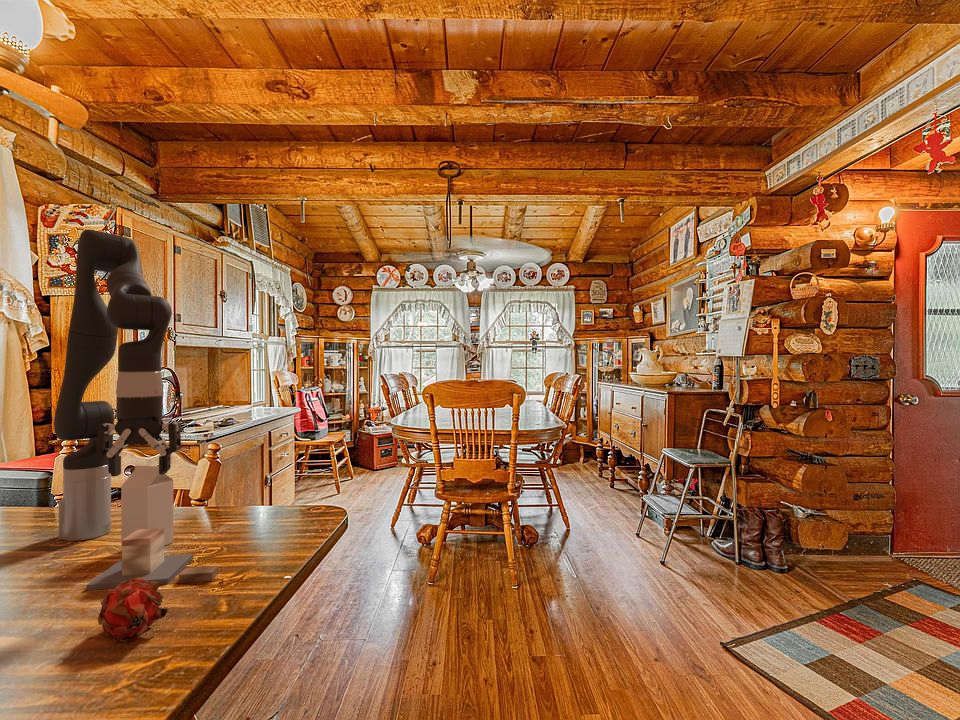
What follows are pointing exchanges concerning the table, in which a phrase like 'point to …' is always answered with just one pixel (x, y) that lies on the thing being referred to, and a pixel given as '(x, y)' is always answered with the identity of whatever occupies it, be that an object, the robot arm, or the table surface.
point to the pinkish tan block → (142, 551)
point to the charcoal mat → (160, 574)
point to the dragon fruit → (131, 608)
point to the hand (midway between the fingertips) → (139, 474)
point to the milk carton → (147, 502)
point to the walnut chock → (198, 574)
